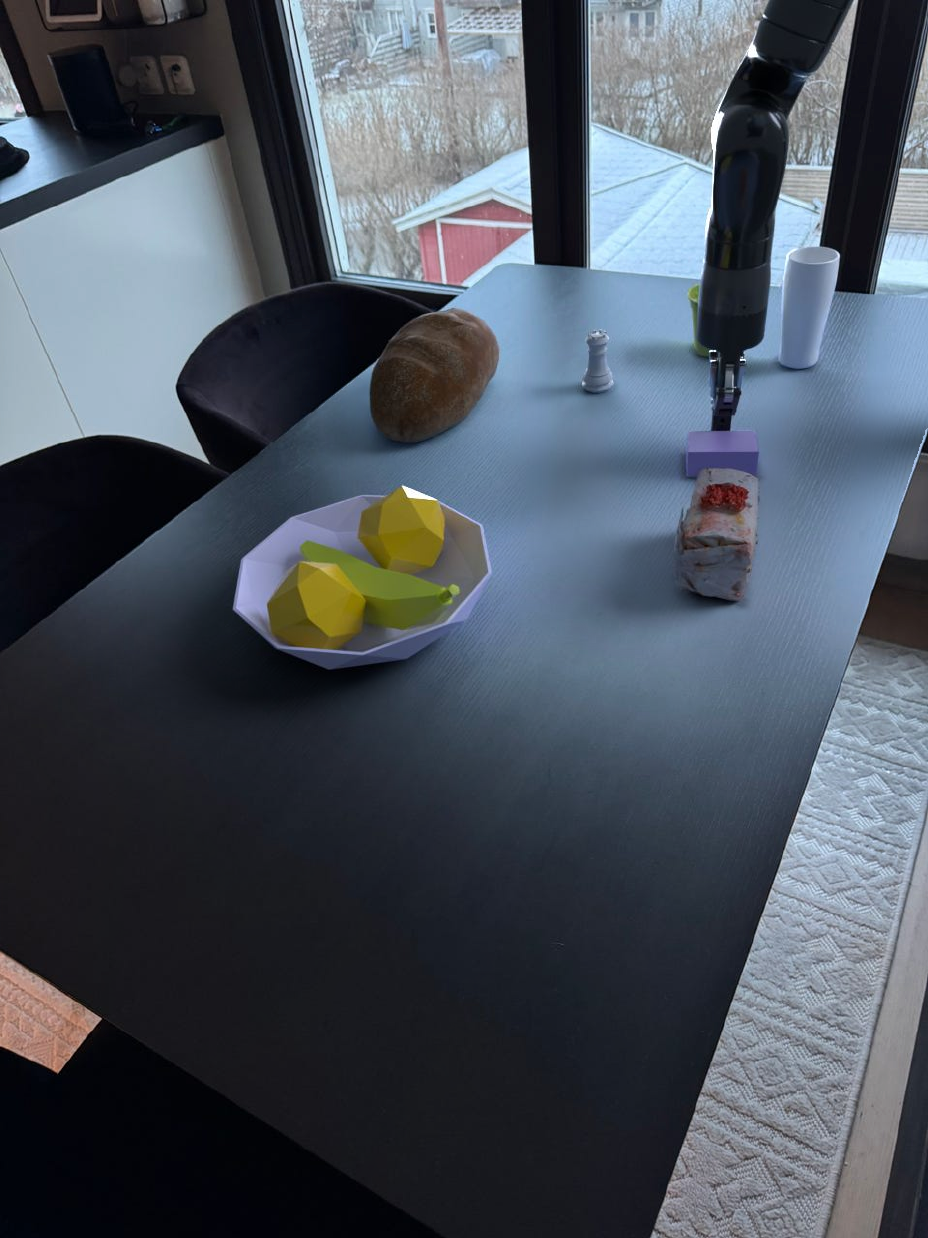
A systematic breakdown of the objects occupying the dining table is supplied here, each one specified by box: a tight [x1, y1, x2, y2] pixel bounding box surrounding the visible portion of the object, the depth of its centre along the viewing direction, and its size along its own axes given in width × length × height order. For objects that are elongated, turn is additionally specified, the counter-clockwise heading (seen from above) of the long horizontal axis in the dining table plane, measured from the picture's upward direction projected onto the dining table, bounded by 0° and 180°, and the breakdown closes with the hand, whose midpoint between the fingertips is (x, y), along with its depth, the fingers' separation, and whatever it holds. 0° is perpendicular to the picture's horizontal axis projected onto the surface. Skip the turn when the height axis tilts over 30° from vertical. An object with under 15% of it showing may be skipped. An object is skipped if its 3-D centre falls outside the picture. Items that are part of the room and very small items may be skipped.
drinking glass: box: [778, 246, 841, 370], centre depth 121 cm, size 7×7×15 cm
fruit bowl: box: [232, 485, 493, 671], centre depth 89 cm, size 28×27×11 cm
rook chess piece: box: [581, 328, 614, 394], centre depth 124 cm, size 4×4×8 cm
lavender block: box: [685, 430, 760, 478], centre depth 106 cm, size 8×5×4 cm, turn 80°
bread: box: [369, 307, 500, 443], centre depth 126 cm, size 16×29×11 cm, turn 162°
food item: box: [673, 468, 761, 602], centre depth 90 cm, size 14×8×10 cm, turn 164°
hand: (719, 436), depth 110 cm, fingers closed
